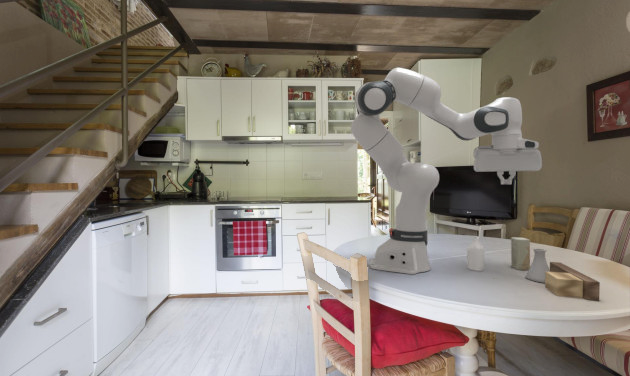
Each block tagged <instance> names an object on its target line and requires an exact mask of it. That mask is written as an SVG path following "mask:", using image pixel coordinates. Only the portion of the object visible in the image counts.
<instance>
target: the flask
mask: <svg viewBox="0 0 630 376" xmlns="http://www.w3.org/2000/svg"><path fill="white" fill-rule="evenodd" d="M546 252H547V249H544V248H533V253H534V255H533V260H532V262H531V263H530V269H529V270H527V272H526V275H525V278H526V279H528V280H530V281H532V282H537V283H545V271H547V272H550V266H549V265H548V262H547V258H546Z"/></svg>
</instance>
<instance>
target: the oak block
mask: <svg viewBox="0 0 630 376" xmlns="http://www.w3.org/2000/svg"><path fill="white" fill-rule="evenodd" d="M544 286H545V288H546V289H547V291H549V292H551V293H552V294H553V295H555V296H557V297H566V298H576V299H584V298H583V280H581V279H579V278H577V277H575V276H574V275H572V274H570V273H562V272H547V271H545V285H544Z"/></svg>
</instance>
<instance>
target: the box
mask: <svg viewBox="0 0 630 376" xmlns="http://www.w3.org/2000/svg"><path fill="white" fill-rule="evenodd" d="M510 239H511V240H510V243H511V244H510V245H511V246H510V249H511V250H510V251H511V252H510V253H511V254H510V257H511V267H512V268H514V269H515V270H518V271H519V270H521V271H529V269H530V266H531V240H530V239H529V238H525V237H517V236H515V237H510Z"/></svg>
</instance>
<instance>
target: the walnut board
mask: <svg viewBox="0 0 630 376" xmlns="http://www.w3.org/2000/svg"><path fill="white" fill-rule="evenodd" d="M549 270H550V272H562V273H570V274H572V275H574V276H575V277H577V278H579V279H581V280H583V298H582V299H584V300H587V301H597V302H599V301H600V290H601V289H600V287H601V286H600V285H601V284H600V281H598V280H596V279H594V278H592V277H590V276H588V275H586V274H584V273H582V272H581V271H579V270H576V269H574V268H572V267H570V266H569V265H566V264H565V263H562V262H559V261H558V262H557V261H556V262H555V261H549Z"/></svg>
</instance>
